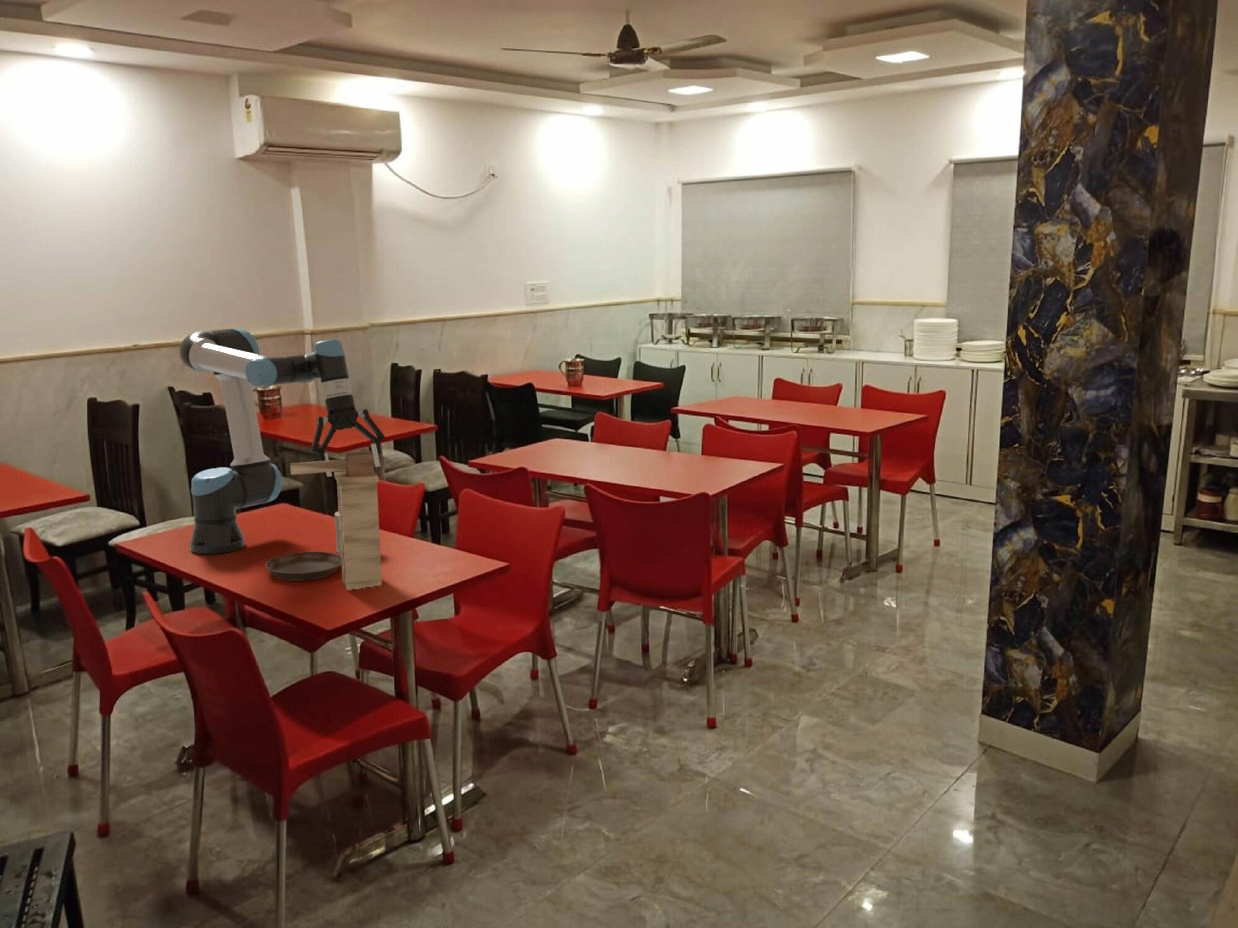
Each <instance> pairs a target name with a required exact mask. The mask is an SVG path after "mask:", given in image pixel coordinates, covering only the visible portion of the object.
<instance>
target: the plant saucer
mask: <svg viewBox="0 0 1238 928" xmlns="http://www.w3.org/2000/svg"><path fill="white" fill-rule="evenodd" d="M324 564H326V565H324ZM340 567H342V561H341V554H338V553H337V554H336V553H332V552H326V551H301V552H300V551H299V552H294V553H293V552H292V553H286V554H282V555H278V556H276V557H274V558H271V559H269V560H268V561H266V563H265V568H266V569H267V571H269V573H270V574H272V575H273V576H274V577H276V578H278V579H280V580H285V581H293V582H294V581H295V582H302V581H303V582H304V581H313V579H314V580H319V579H322V577H323V578H326V577H329V576H330V575H333V574H334V573H336V572H337V571H338V570H339V569H340Z"/></svg>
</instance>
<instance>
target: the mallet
mask: <svg viewBox="0 0 1238 928" xmlns="http://www.w3.org/2000/svg"><path fill="white" fill-rule="evenodd" d="M344 458H345V459H343V458H342V459H332V460H331V459H329V460H328V461H320V460H319V461H318V460H317V461H316V460H315V461H305V462H304V461H301V462H290V463H289V468H290V470H289V471H290V475H291V476H293V475H307V474H320V473H326V472H331V473H332V472H333V473H334V472H342V471H346V474H347V475H348V477H358V476H370V475H374V471H375V463H374V455H373V453H372V450H363V451H348V452H344Z"/></svg>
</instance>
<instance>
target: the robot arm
mask: <svg viewBox="0 0 1238 928" xmlns="http://www.w3.org/2000/svg"><path fill="white" fill-rule="evenodd" d="M178 353H179V357H180V360H181V361H182V363H183V364H184V365H185V366H186V367H187V368H189V369H190V370H193V371H197V372H201V373H207V372H210V371H212V372H213V377H215V378H216V379H218V380H219V381H220V386H221V391H222V397H223V398H222V399H223V404H224V408H225V413H226V414H225V415H226V419H227V424H228V430H229V435H230V443H231V448H232V453H233V460H232V462H231V463H230V465H229V466H230V467H224V466H223V467H216V468H209V469H205V470H202V471H199V472H198V473H196V474H195V475H194V476H193V477H192V478H191V488H190V489H191V490H190V492H191V494H192V495H191V497H192V507H193V517H194V518H193V519H194V527H193V530H192V534H191V538H190V542H189V543H190V544H189V546H190V551H191V552H193V553H195V554H200V555H217V554H218V555H219V554H225V553H231V552H234V551H237V550H240V549H241V548H244V547H245V544H246V543H245V537H244V534H243V532H242V530H241V528H240V525H239V523H238V520H237V510H239V509H243V508H248V507H251V506H252V507H253V506H257V505H264V504H266V503H269V502H272V501H274V500H276V499H277V498H278V496H279V494H280V493H281V490H282V485H283V479H282V474H281V471H280V470H279V468H278V467H277V465H276V464H273V463H271V459H270V457H268V456H266V455H265V454H264V448H263V441H262V437H261V430H260V427H259V420H258V413H257V409H256V402H255V398H254V391H253V390H254V389H253V387H255V388H256V387H257V388H259V387H264V388H266V387H271V386H277V385H285V384H294V383H299V384H305V383H311V382H313V381H316V380H319V379H320V383H321V388H322V392H323V397H325V398H326V399H325V400H324V401H325V407H326V411H327V416H323V417H322V416H318V417H317V418H316V423H317V425H316V429H315V433H314V438H313V441H312V444H311V447H310V452H311V453H313V454H314V453H315V454H318V457H319V461H328V460H330V459H329V454H328V452H325V450H326V449H327V447H328V445H329V444H330V442H331V440H332V438H333V437H334V435H335V433H336V432H337V431H342V430H345V429H346V430H347V429H348V430H349V429H352V428H354V429H355V430H357V431H358V432H359V433H360V434H362V435H363V436H364V437H365V438H367V439H368V440H369V441H371V442H372V443H371V444H370V447H371V452H372V454H373V455H374V468H378V467H381V463H380V457H379V455H381V454H382V450H381V444H380V443H381V441H383V440H385V438H386V435H384V433H383V432H382V430H381V429H380V428H379V427H378V425H377V424H376V423H375V421H373V419H372V418H371V417H370V414H369V410H368V409H366V408H364V409H362V410H360V411H359V410H358V411H357V410H356V404H355V400H354V396H353V395H352V394H351V393H352V392H353V390H352V387H351V382H350V381H351V380H350V376H349V370H348V366H347V362H346V356H345V351H344V348H343V344H342V341H340V339H337V338H336V339H334V338H333V339H326V340H321V341H317V342H315V343H314V345H313V352H310V353H306V354H296V355H295V354H294V355H286V356H275V357H274V356H266V355H261V354H260V353H261V352H260V348H259V344H258V341H257V340H256V339H255V337H254V335H253V334H251V332H249V331H247V330H246V329H242V328H228V329H225V328H224V329H216V330H215V329H213V330H200V331H199V330H198V331H195V332H192V333H190V334H188V335H187V336H186V337H184V338H183V340H182V342H181V344H180V347H179V352H178ZM359 417H360V418H361V419H363V420H364V421H365V423H366V424H367V425H368V427H369V428H370V429H371V431H372V432H373V433H374V434H373V433H372V432H370V431H369V430H368V429H367V428H365V427H364V426H363V425H362V424H361V423H360V422H359V421H357V420H358V418H359ZM327 423H329V424H330V425H331V426H330V428H329V430H328V432H327V434H326V435H325V437H324V439H323V441H322V443H321V444H320V441H321V438H322V435H323V429H324V426H325V425H326V424H327ZM319 445H320V446H319ZM325 473H326V477H327V478H328V477H333V473H332V472H325Z"/></svg>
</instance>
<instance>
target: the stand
mask: <svg viewBox="0 0 1238 928" xmlns="http://www.w3.org/2000/svg"><path fill="white" fill-rule="evenodd" d="M333 474H334V479H335V480H336V485H337V486H336V487H337V488H336V489H337V490H336V491H337V503H338V504H337V505H338V506H337V508H338V511H339V526H340V544H341V554H340V556H341V561H342V565H341V577H342V582H343V584H344V586H345V589H346V591H353V590H352V589H355V590H362V589H361V588H363V589H366V588H365V587H371V588H374V587H373V586H378V585H382V586H383V582H382V580H383V579H382V565H381V564H382V561H381V543H380V542H381V540H380V519H379V500H378V496H379V495H378V483H380V477H379V476H380V475H378V473H376V472H375V470H374V475H370V476H358V477H348V475H347V474H346V471H334V472H333Z"/></svg>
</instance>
